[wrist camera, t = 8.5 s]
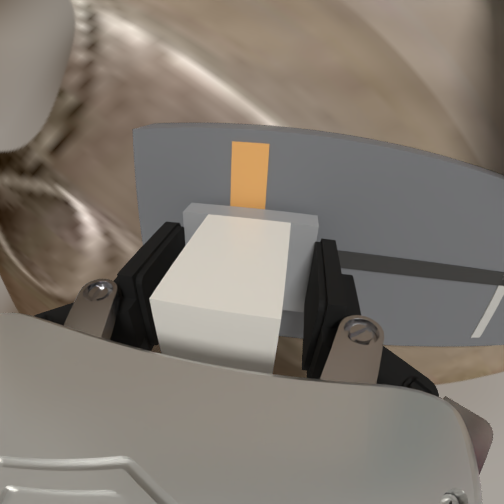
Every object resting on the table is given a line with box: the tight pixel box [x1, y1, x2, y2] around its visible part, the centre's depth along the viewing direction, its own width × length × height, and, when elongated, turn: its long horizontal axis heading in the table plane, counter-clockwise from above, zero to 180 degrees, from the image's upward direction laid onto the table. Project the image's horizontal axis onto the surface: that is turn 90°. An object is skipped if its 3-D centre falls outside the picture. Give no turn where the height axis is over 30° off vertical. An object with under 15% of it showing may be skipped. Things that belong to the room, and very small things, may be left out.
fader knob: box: [149, 203, 319, 374], centre depth 10 cm, size 5×4×6 cm
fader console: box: [133, 123, 504, 346], centre depth 13 cm, size 24×10×2 cm, turn 88°
